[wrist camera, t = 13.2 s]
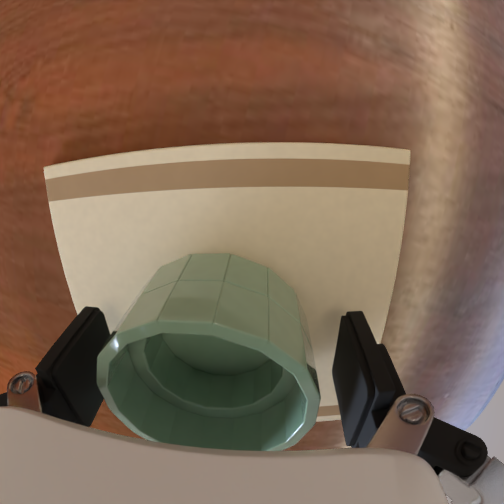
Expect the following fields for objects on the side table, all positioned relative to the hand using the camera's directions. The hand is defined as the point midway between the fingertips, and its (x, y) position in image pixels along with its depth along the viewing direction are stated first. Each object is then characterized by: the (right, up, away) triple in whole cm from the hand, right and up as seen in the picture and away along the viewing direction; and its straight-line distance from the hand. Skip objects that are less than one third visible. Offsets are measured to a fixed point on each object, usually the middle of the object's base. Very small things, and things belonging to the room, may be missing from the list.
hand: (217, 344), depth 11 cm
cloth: (0, +1, +2) cm, 2 cm away
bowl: (0, 0, +1) cm, 1 cm away
